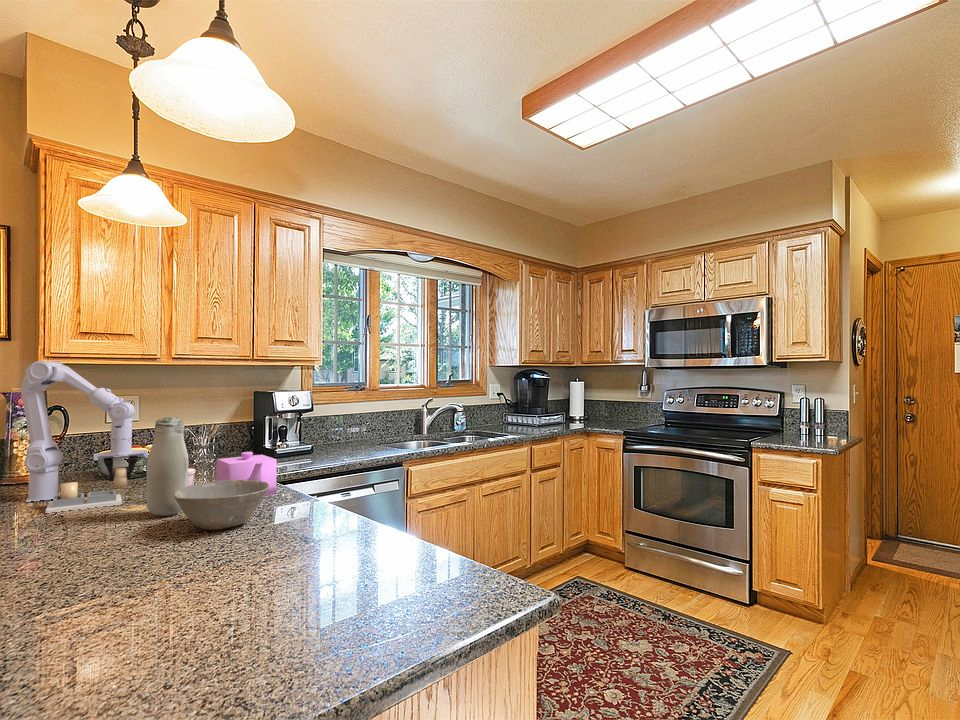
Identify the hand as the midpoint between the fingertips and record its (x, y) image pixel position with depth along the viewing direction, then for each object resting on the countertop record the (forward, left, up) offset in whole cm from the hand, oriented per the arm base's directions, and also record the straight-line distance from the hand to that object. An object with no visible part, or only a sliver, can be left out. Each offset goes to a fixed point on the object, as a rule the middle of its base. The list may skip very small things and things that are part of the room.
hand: (120, 480), depth 172 cm
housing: (+9, -9, -5) cm, 14 cm away
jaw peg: (0, 0, -2) cm, 2 cm away
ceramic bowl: (+56, +21, -5) cm, 60 cm away
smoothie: (+20, +16, -5) cm, 26 cm away
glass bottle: (+36, +10, -5) cm, 38 cm away
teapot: (+22, +35, -5) cm, 41 cm away
